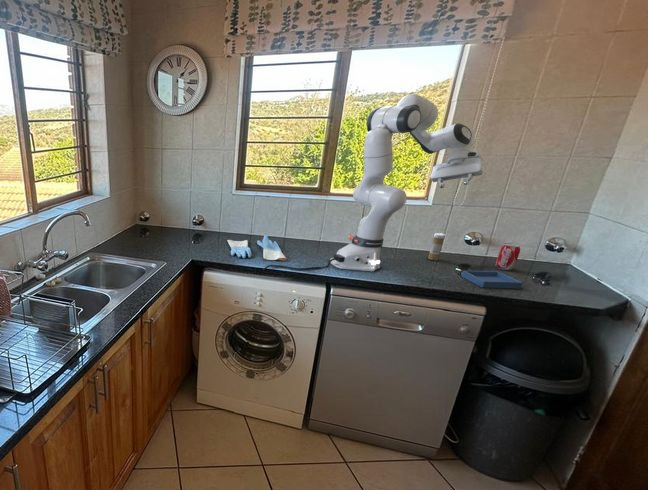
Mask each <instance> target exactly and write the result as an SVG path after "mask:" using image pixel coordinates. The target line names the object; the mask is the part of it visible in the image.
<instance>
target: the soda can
mask: <svg viewBox="0 0 648 490" xmlns="http://www.w3.org/2000/svg"><path fill="white" fill-rule="evenodd" d="M520 247H521V244H516V243H513V242H512V243H510V242H505V243H503V245H502V246H501V247H500V250H499V252H498V255H497V258H496V261H495V265H494V266H495V267H496V269H498V270H501V271H511V270H514V268H515V267H516V264H517V262H518V259H519V256H520V253H521V248H520Z"/></svg>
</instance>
